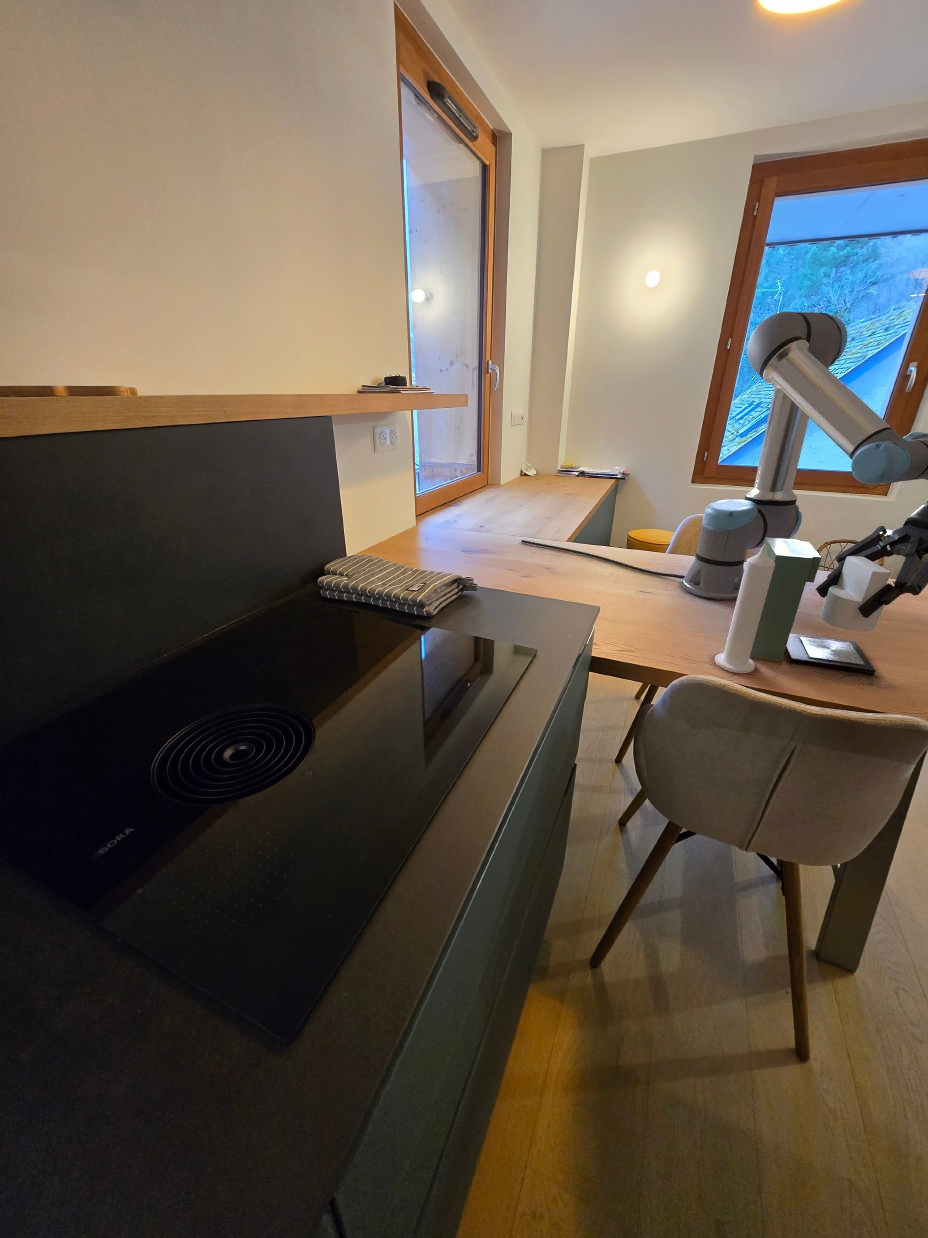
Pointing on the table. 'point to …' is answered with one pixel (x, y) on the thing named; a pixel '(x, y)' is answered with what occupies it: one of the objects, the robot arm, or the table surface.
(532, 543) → the robot arm
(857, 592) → the base with upright slab
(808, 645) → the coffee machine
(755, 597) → the candle
